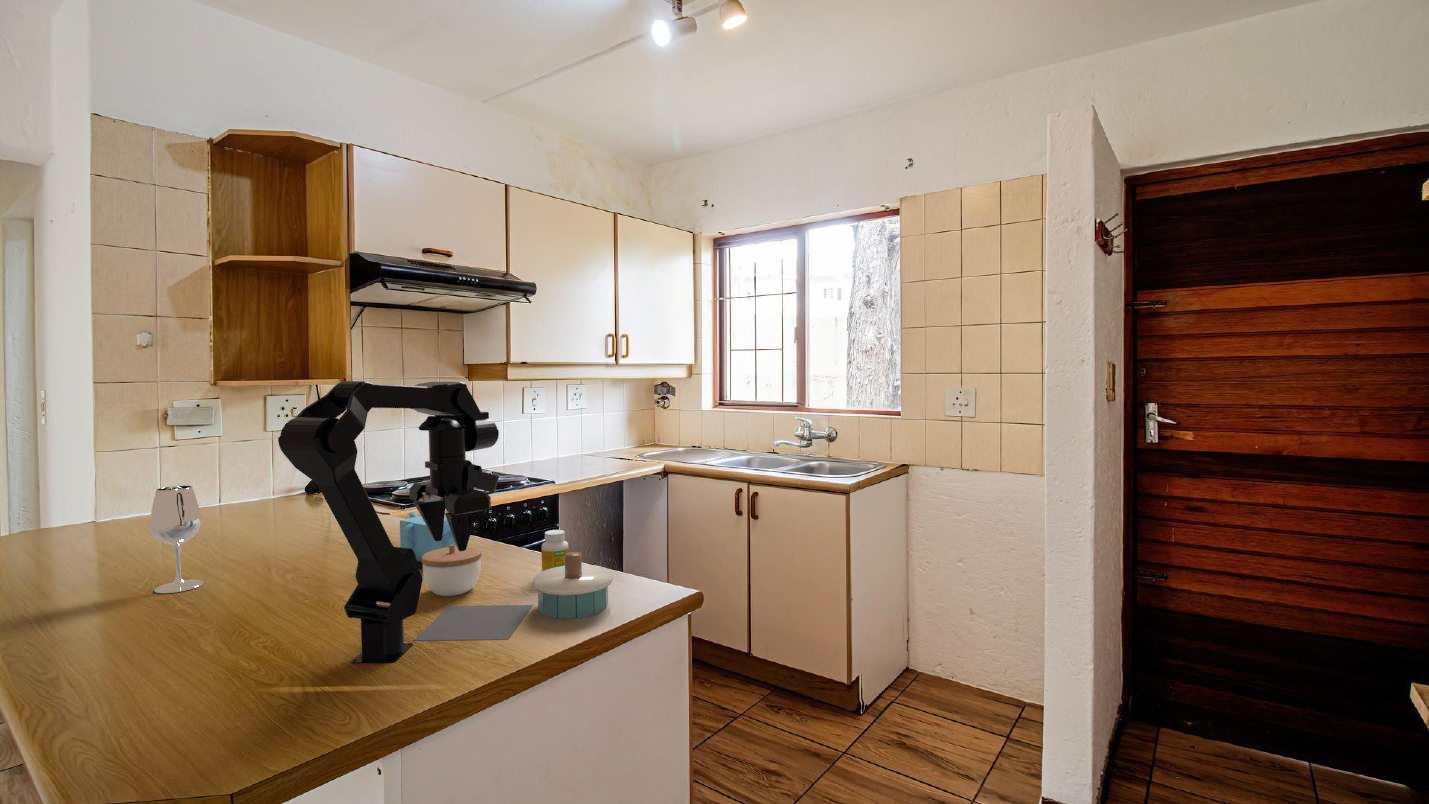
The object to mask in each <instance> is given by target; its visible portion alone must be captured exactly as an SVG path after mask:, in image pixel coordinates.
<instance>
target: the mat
mask: <svg viewBox="0 0 1429 804" xmlns="http://www.w3.org/2000/svg"><path fill="white" fill-rule="evenodd" d="M532 607H533V604H514V605H513V604H511V605H510V604H508V605H505V604H504V605H502V604H501V605H500V604H499V605H494V604H493V605H449V606H448V607H447V608H445V609H444V610H443V611H442V612H441V613H440V614H439V615H438V616H437V617H435V619H434V620H433V621H432V622H431V623H430V624H428V626H426V627H425V629H424V630H422V631H421V632H420V633H419V635H417V636H416V637H415V638H414V639H413V640H412V641H413V642H431V641H432V642H433V641H434V642H435V641H437V642H438V641H439V642H440V641H441V642H442V641H447V642H448V641H500V640H501V641H505V640H506V641H508V640H510V639H511V637H512V636H513V634H514V633H515V631H516V630H517V628H518V627H519V626H520V625H521V623H522V622H523V619H525V617H526V616H527V614H528V613H529V611H530V610H531V609H532Z"/></svg>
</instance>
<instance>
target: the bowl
mask: <svg viewBox="0 0 1429 804" xmlns="http://www.w3.org/2000/svg"><path fill="white" fill-rule="evenodd" d="M537 598H538V599H537V600H538V601H537V603H538V606H537V607H538V608H537V609H538V611H539V612H540V613H541V614H542V615H543V616H544V617H549V618H553V619H559V620H560V619H561V620H562V619H567V620H570V619H580V618H584V617H591V616H594V615H596V614H598V613H600V612H602V611H604V610H606V609H607V606H608V604H609V586H607V587H605V588H603V589H601V590H598V591H594V592H590V593H585V594H578V595H552V594H546V593H542V592H539V591H537Z"/></svg>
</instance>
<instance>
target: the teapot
mask: <svg viewBox="0 0 1429 804" xmlns="http://www.w3.org/2000/svg"><path fill="white" fill-rule="evenodd" d="M406 513H407V515H408V516H409V518H405V519H401V520H399V542H400V546H399V547H402V548H411V549H412V550H413V552H414V553H415V556H416V559H417V562H418V563H422V556H423V555H424V554H425V553H427V552H430V551H433V550H436V549H440V548H446V547H449V545H452V544H454V545H455V546H456V543H455V540H454V538H453V535H452V532H451V529H450V526H449V524H448V521H447V518H446V515H445V516H444V527H443V535H442V540H441V541H435V540H434V538H433V536H432V535H431V533H430V531H429V529H428V527H427V525H426V523H425V522H424V520H423V518H422V516H421V515H417V514H416V513H415V512H412V511H408V512H406ZM445 513H448V512H446V511H445ZM468 544H469V543H468ZM468 544H467V546H469V545H468Z"/></svg>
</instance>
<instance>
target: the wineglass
mask: <svg viewBox="0 0 1429 804" xmlns="http://www.w3.org/2000/svg"><path fill="white" fill-rule="evenodd" d="M201 525H202V518H201V510H200V507H199V503H198V500H197V497H196V494H195V490H194V488H193V486H192V485H173V486H172V485H171V486H165V487H160V488H156V490H155V493H154V497H153V501H152V507H151V513H150V521H149V527H150V532H151V534H152V536H153V538H155V539H156V540H157V541H158V542H160V543H162V544H165V545H167V546H172V547H173V551H174V555H175V573H176V574H175V579H174V580H173V581H172V582H169V583H165V584H161V585H160V586H157V587H156V588H154V591H153V592H155V593H157V594H167V595H168V594H176V593H177V594H178V593H183V592H186V591H190V590H194V589H196V588H198V587H201V586H203V584H204V581H203V580H200V579H186V580H185V579H184V578H183V577H182V570H181V548H182V546H183V544H186V543H187V542H189V541H190V540H192V539H193V538H194V537H195V536H196V535H197V533H198V532H199V531H200V529H201Z"/></svg>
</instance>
